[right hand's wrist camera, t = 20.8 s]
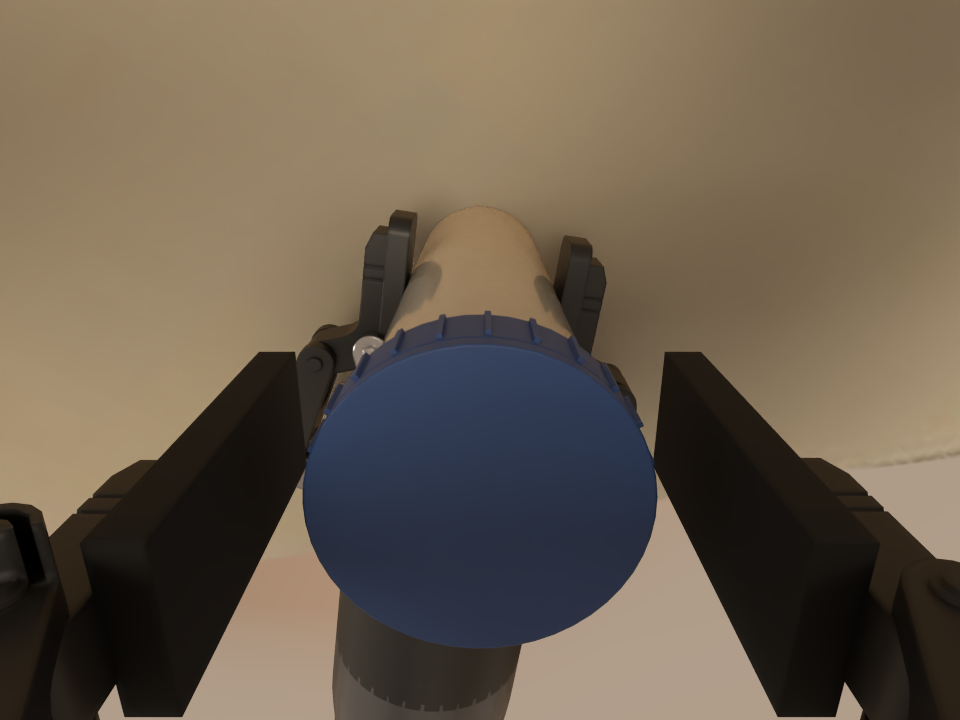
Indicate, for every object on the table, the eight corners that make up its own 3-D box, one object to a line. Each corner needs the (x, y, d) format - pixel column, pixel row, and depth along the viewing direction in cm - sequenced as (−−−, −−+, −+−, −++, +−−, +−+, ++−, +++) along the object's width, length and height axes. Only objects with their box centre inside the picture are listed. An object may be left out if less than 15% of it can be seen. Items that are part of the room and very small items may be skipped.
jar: (538, 204, 27) (632, 344, 10) (538, 320, 29) (617, 597, 12) (417, 208, 27) (319, 353, 10) (425, 323, 29) (350, 604, 12)
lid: (496, 638, 13) (499, 702, 12) (258, 479, 12) (227, 530, 11) (705, 445, 12) (737, 492, 10) (457, 239, 10) (454, 258, 9)
